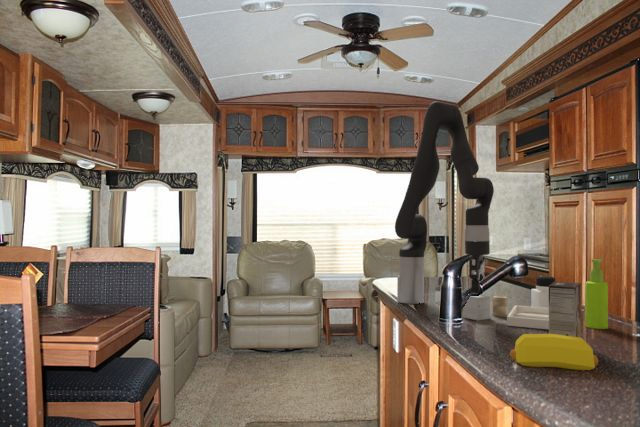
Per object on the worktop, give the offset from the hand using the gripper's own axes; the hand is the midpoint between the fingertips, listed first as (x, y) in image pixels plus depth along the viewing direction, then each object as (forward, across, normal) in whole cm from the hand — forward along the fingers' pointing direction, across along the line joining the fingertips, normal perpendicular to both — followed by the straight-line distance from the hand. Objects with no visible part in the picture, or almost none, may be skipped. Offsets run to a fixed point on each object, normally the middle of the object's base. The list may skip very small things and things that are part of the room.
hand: (477, 290), depth 162 cm
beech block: (+9, -9, +6) cm, 14 cm away
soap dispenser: (+10, -4, +34) cm, 35 cm away
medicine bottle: (+9, -24, +19) cm, 32 cm away
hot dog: (+10, +45, +23) cm, 52 cm away
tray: (+9, -4, +16) cm, 18 cm away
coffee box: (+10, +29, +25) cm, 40 cm away
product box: (+9, 0, 0) cm, 9 cm away
